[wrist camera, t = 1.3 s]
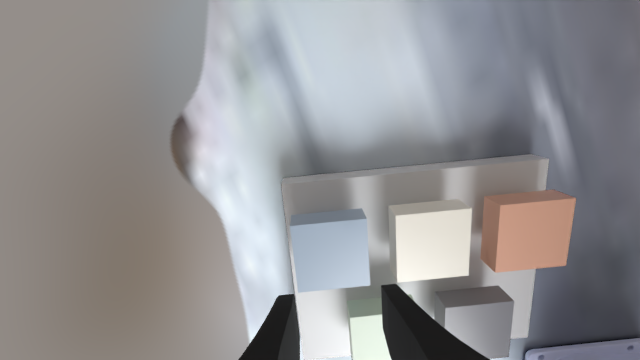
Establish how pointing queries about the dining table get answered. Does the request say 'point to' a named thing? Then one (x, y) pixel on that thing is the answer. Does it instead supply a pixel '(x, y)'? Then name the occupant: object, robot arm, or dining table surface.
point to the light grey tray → (374, 198)
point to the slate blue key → (330, 250)
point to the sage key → (367, 329)
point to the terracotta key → (526, 230)
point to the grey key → (477, 318)
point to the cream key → (429, 240)
